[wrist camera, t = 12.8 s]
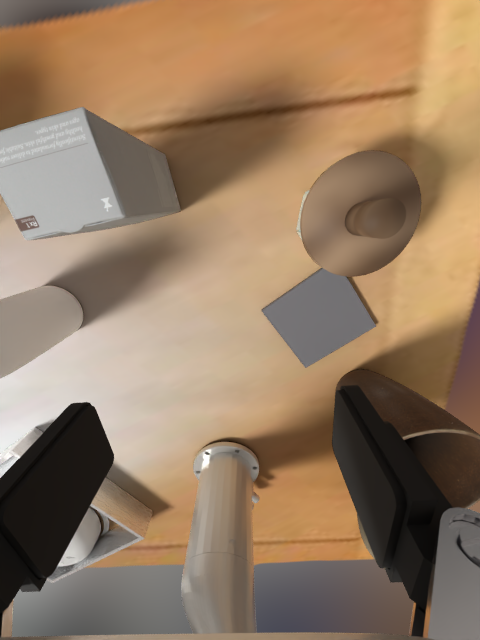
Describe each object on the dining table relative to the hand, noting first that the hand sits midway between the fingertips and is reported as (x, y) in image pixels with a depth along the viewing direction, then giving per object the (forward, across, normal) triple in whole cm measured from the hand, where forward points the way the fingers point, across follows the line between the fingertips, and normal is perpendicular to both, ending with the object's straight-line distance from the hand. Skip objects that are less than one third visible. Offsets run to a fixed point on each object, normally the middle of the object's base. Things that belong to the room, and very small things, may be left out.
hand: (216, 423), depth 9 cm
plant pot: (+26, -18, +20) cm, 38 cm away
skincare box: (+26, +10, -11) cm, 31 cm away
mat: (+26, -11, +7) cm, 30 cm away
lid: (+21, -14, -6) cm, 26 cm away
